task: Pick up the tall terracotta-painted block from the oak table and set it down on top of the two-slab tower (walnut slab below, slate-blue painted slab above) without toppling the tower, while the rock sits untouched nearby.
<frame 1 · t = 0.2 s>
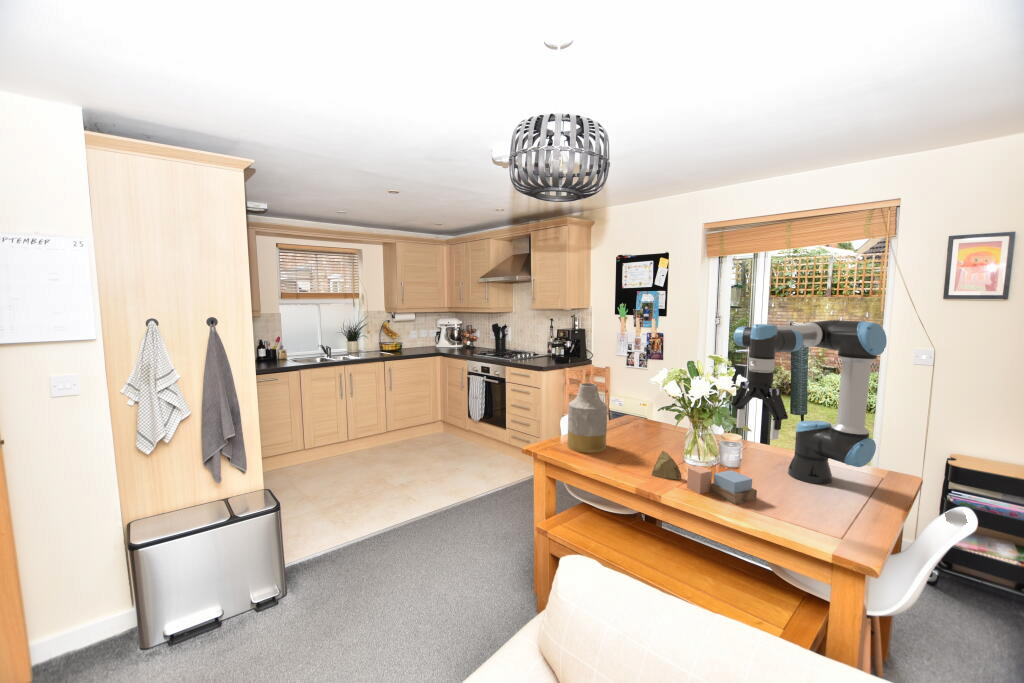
hand: (756, 433, 156), 28 cm above the table, fingers open, 13 cm apart
vase: (586, 447, 225), on the table
rock: (666, 477, 189), on the table
tower top: (732, 486, 171), point 3 cm above the table
block: (698, 489, 177), on the table
tower base: (732, 497, 172), on the table
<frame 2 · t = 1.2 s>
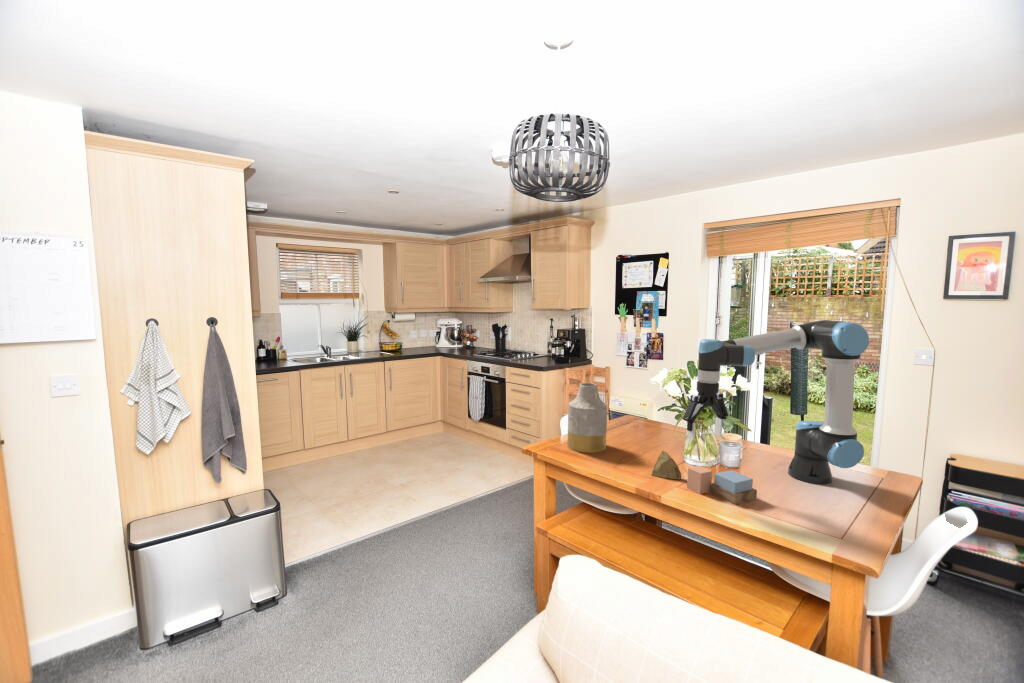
hand: (704, 437, 174), 21 cm above the table, fingers open, 13 cm apart
nothing on the table moved.
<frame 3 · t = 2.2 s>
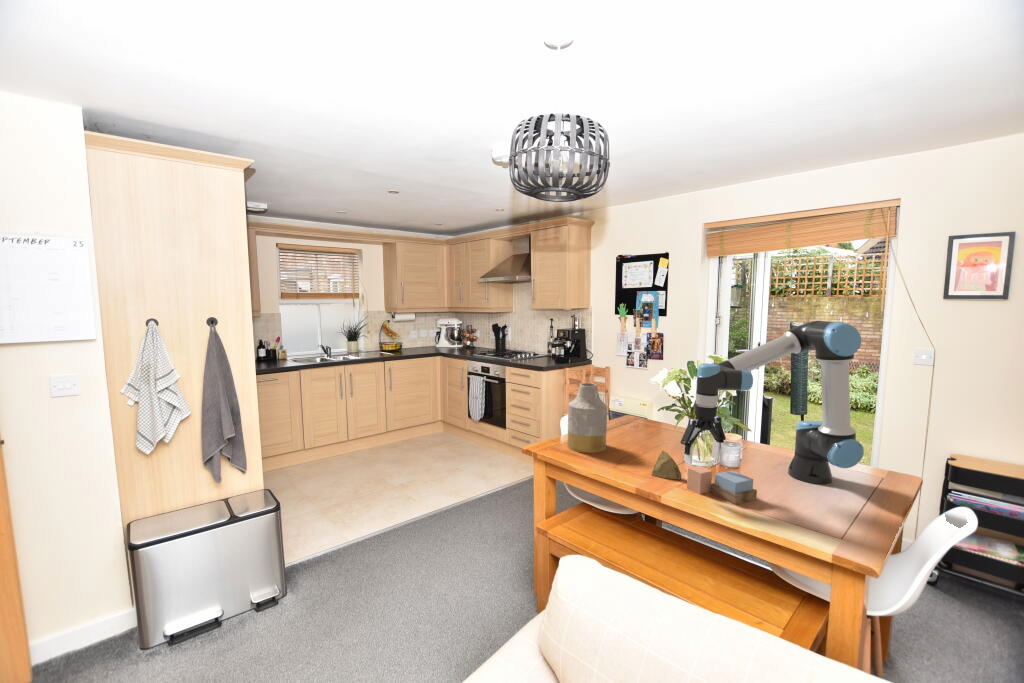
hand: (702, 460, 175), 12 cm above the table, fingers open, 13 cm apart
tower top: (733, 486, 171), point 3 cm above the table, touching tower base
tower base: (732, 497, 171), on the table, touching tower top
everything else where it was.
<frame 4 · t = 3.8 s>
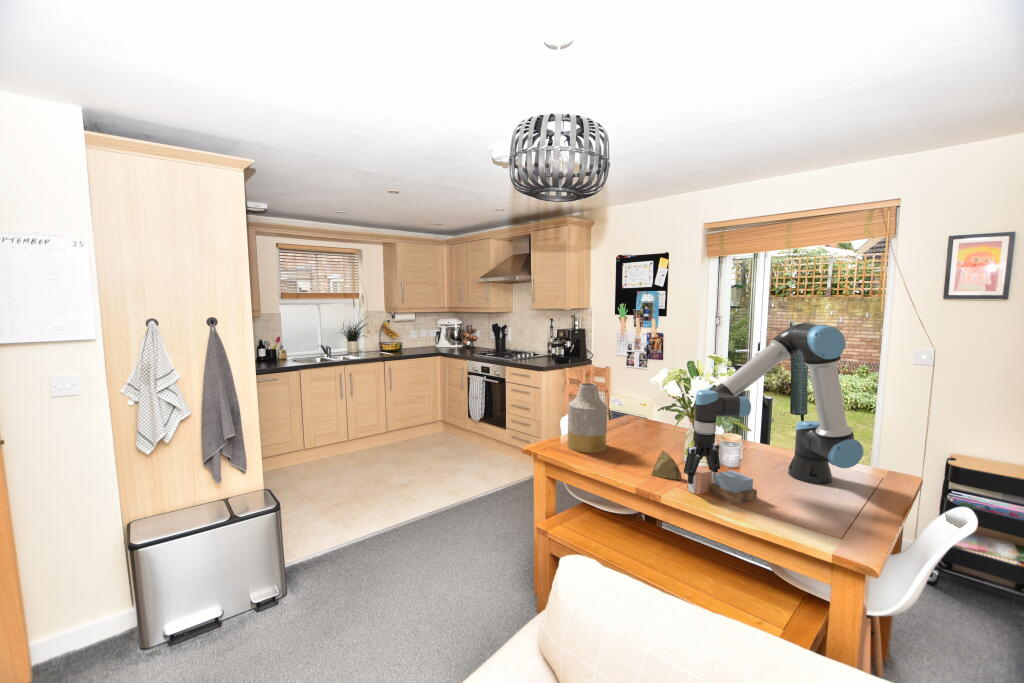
hand: (700, 489, 176), 0 cm above the table, fingers open, 9 cm apart
nothing on the table moved.
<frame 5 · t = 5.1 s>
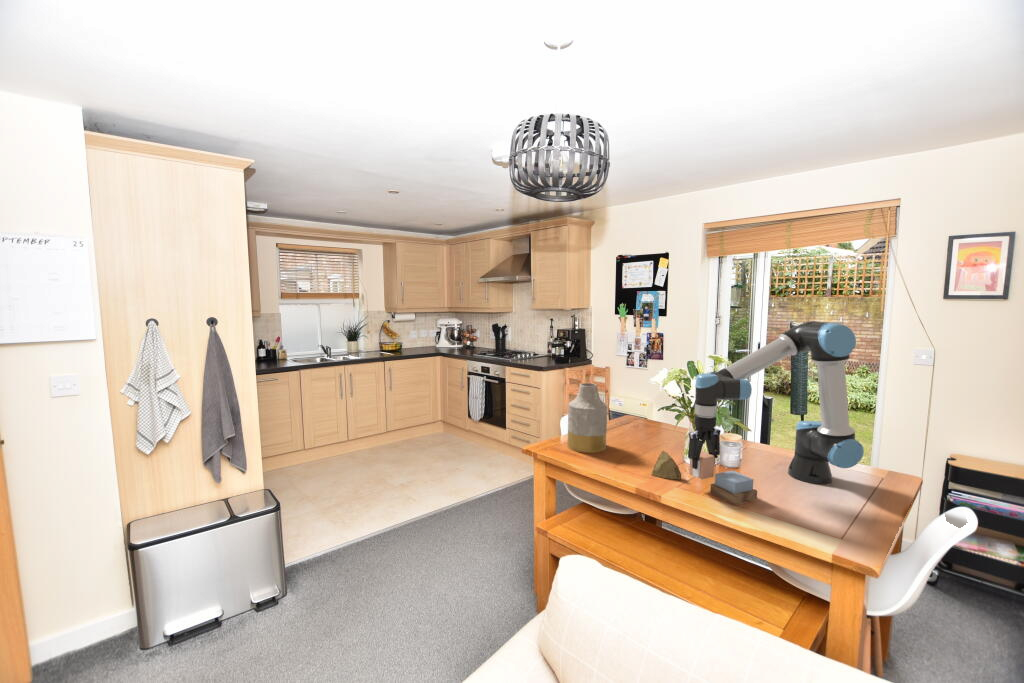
hand: (703, 475, 175), 6 cm above the table, fingers closed on block, 6 cm apart
block: (701, 475, 176), point 6 cm above the table, touching gripper
everything else where it was.
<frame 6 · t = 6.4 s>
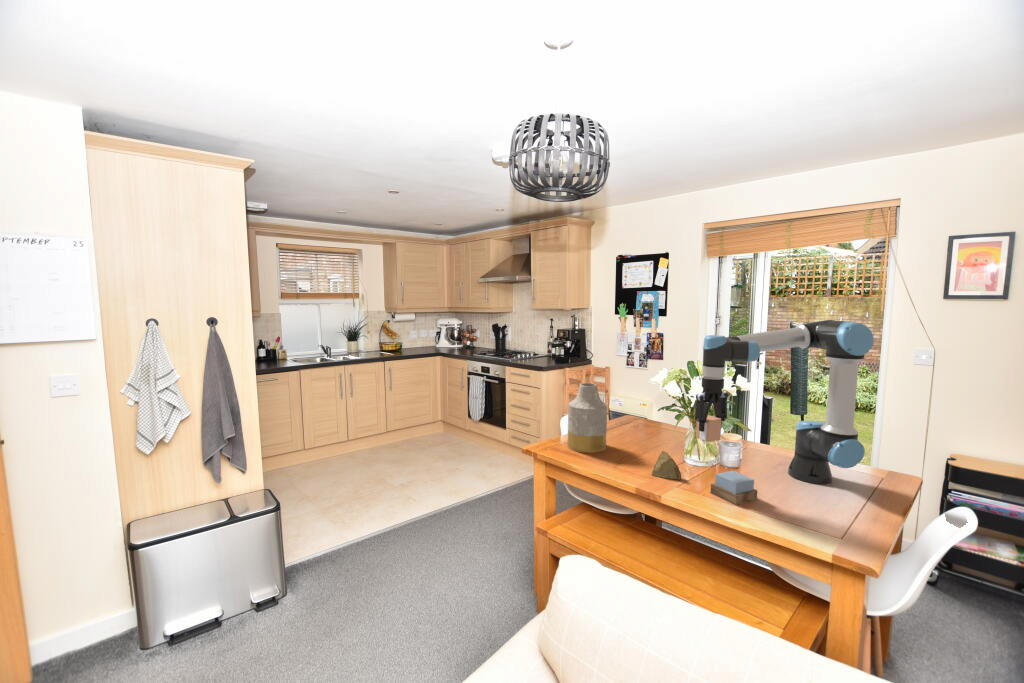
hand: (709, 438, 173), 20 cm above the table, fingers closed on block, 6 cm apart
block: (707, 438, 174), point 20 cm above the table, touching gripper
everything else where it was.
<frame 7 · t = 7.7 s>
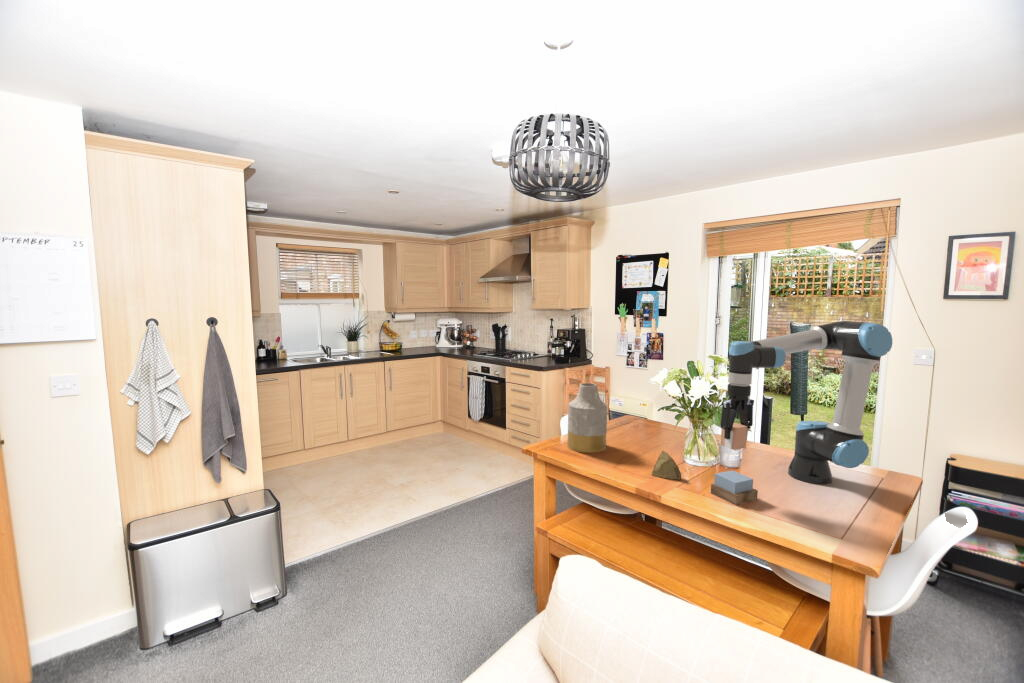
hand: (735, 446, 170), 19 cm above the table, fingers closed on block, 6 cm apart
tower top: (733, 486, 171), point 4 cm above the table
block: (733, 446, 170), point 19 cm above the table, touching gripper
tower base: (733, 497, 171), on the table
everything else where it was.
when the fingers open (9 cm above the table, at t = 10.1 s): block moves 2 cm, point 8 cm above the table.
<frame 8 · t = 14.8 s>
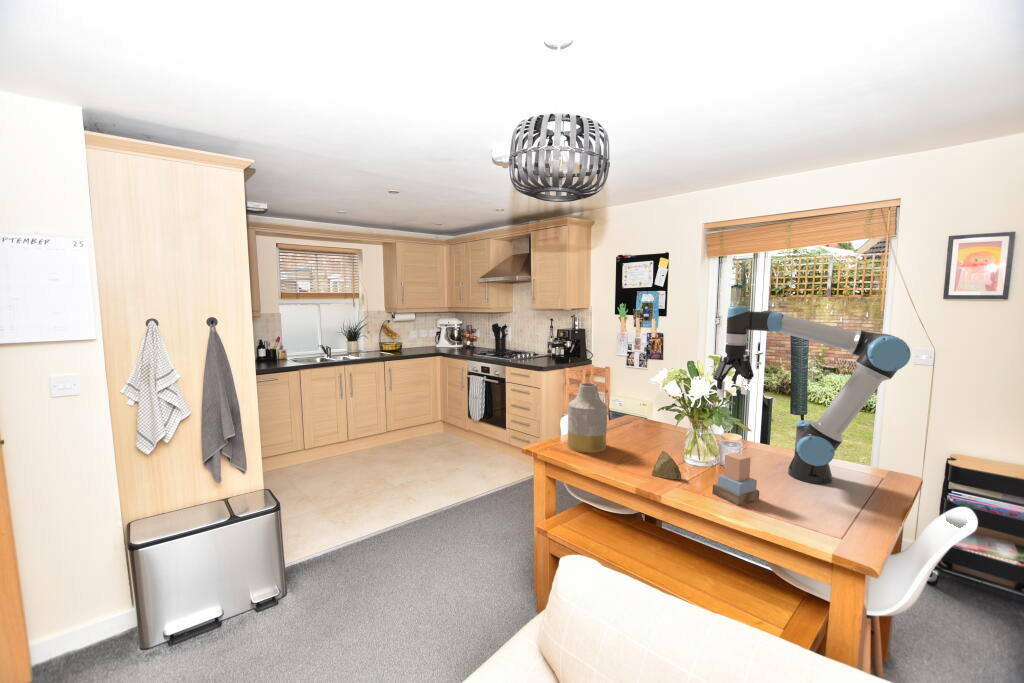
hand: (732, 395, 190), 33 cm above the table, fingers open, 13 cm apart
tower top: (736, 488, 170), point 4 cm above the table
block: (736, 477, 170), point 8 cm above the table
everything else where it was.
at the end: block inside the target area on the tower base (0.2 cm from its centre), point 8.1 cm above the tower base's base; tower top 0.6 cm from the tower base (horizontally); block tilted 0° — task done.
